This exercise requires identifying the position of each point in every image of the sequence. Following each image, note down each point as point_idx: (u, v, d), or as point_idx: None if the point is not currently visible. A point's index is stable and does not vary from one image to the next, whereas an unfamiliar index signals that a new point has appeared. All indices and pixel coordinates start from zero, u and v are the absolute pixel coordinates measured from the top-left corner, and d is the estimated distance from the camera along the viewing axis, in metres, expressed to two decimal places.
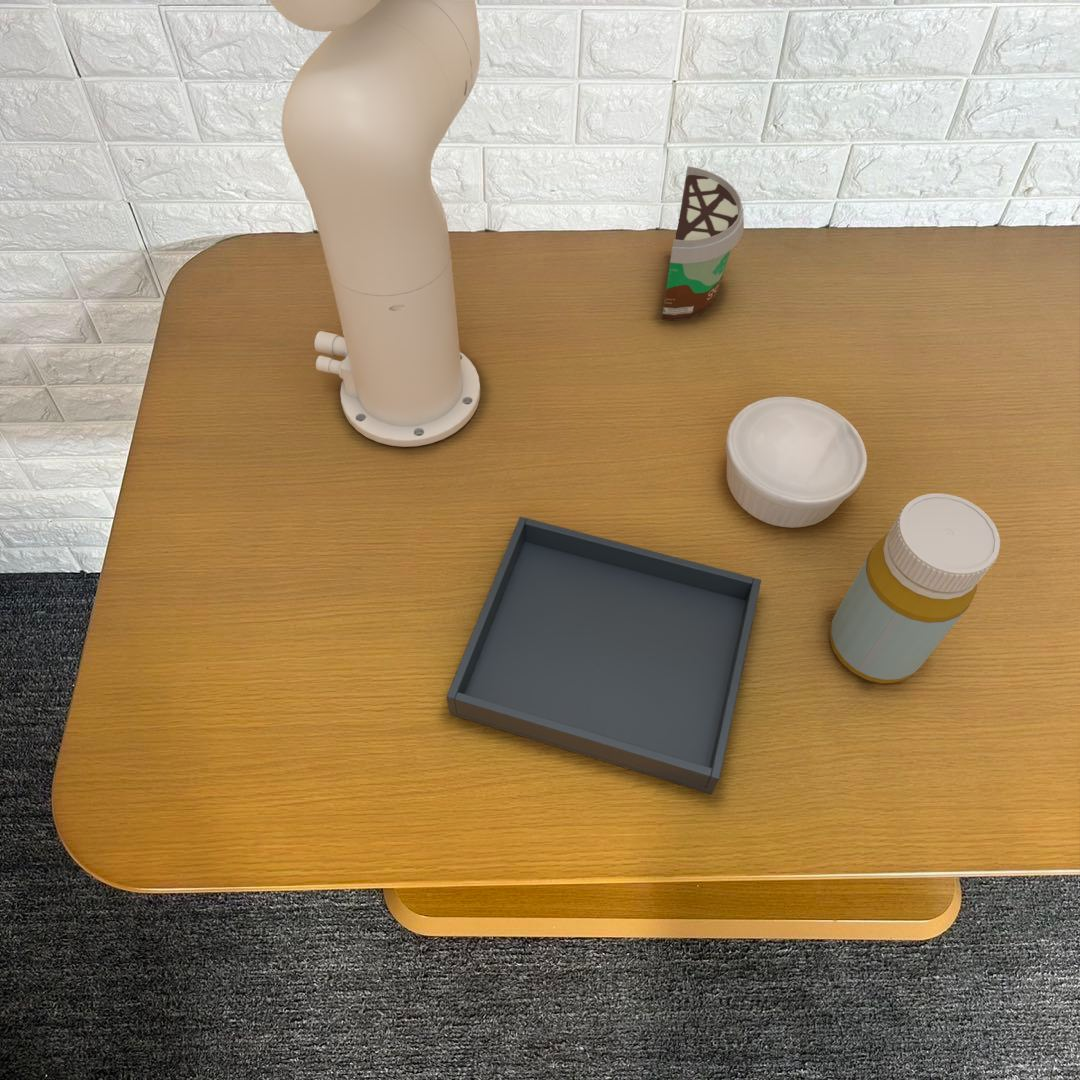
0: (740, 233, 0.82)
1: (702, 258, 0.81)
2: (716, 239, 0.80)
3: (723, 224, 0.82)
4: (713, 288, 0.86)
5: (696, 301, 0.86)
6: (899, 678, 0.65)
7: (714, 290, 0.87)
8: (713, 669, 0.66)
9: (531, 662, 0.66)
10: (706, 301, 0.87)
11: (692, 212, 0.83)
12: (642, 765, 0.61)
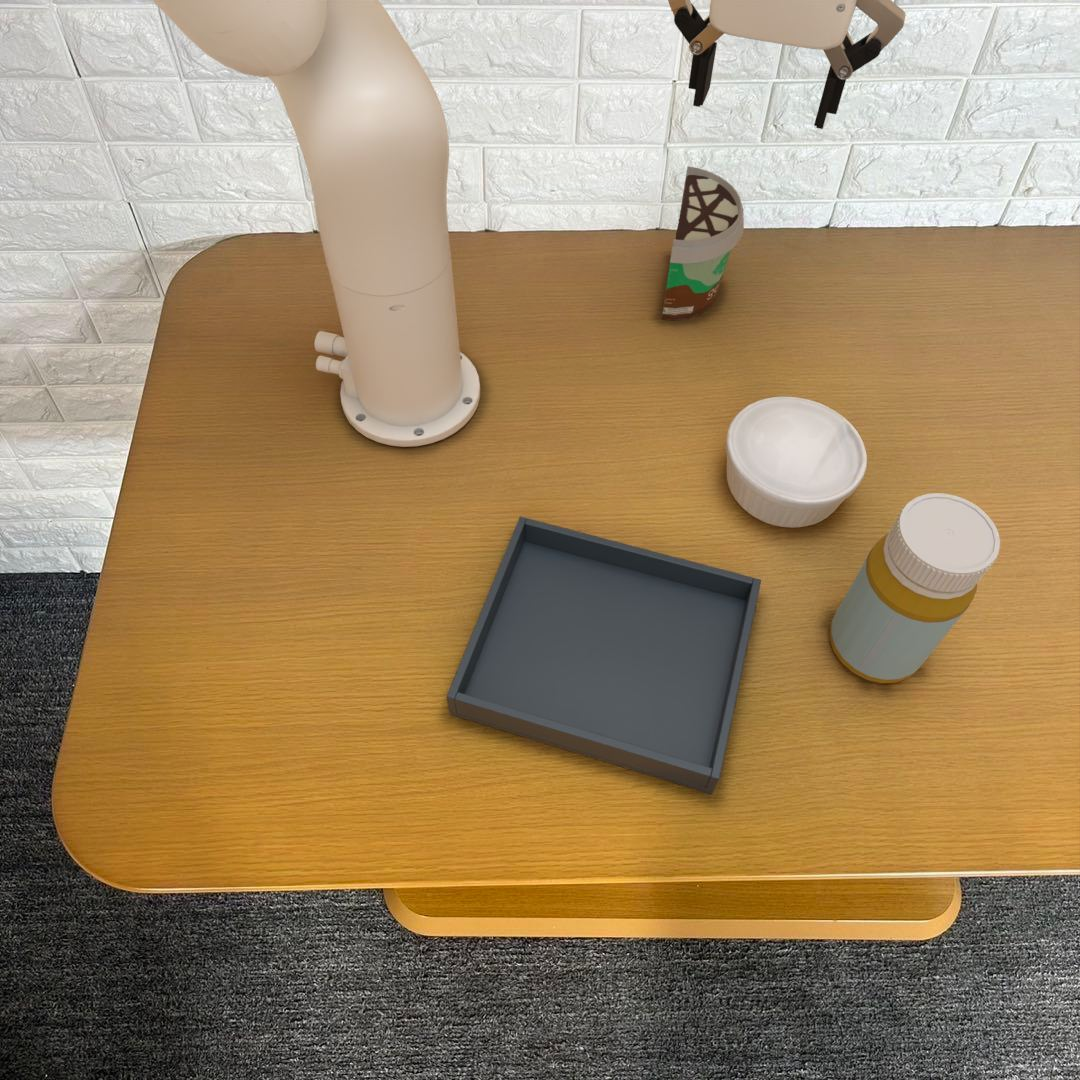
0: (740, 233, 0.82)
1: (702, 258, 0.81)
2: (716, 239, 0.80)
3: (723, 224, 0.82)
4: (713, 288, 0.86)
5: (696, 301, 0.86)
6: (899, 678, 0.65)
7: (714, 290, 0.87)
8: (713, 669, 0.66)
9: (531, 662, 0.66)
10: (706, 301, 0.87)
11: (692, 211, 0.83)
12: (642, 765, 0.61)
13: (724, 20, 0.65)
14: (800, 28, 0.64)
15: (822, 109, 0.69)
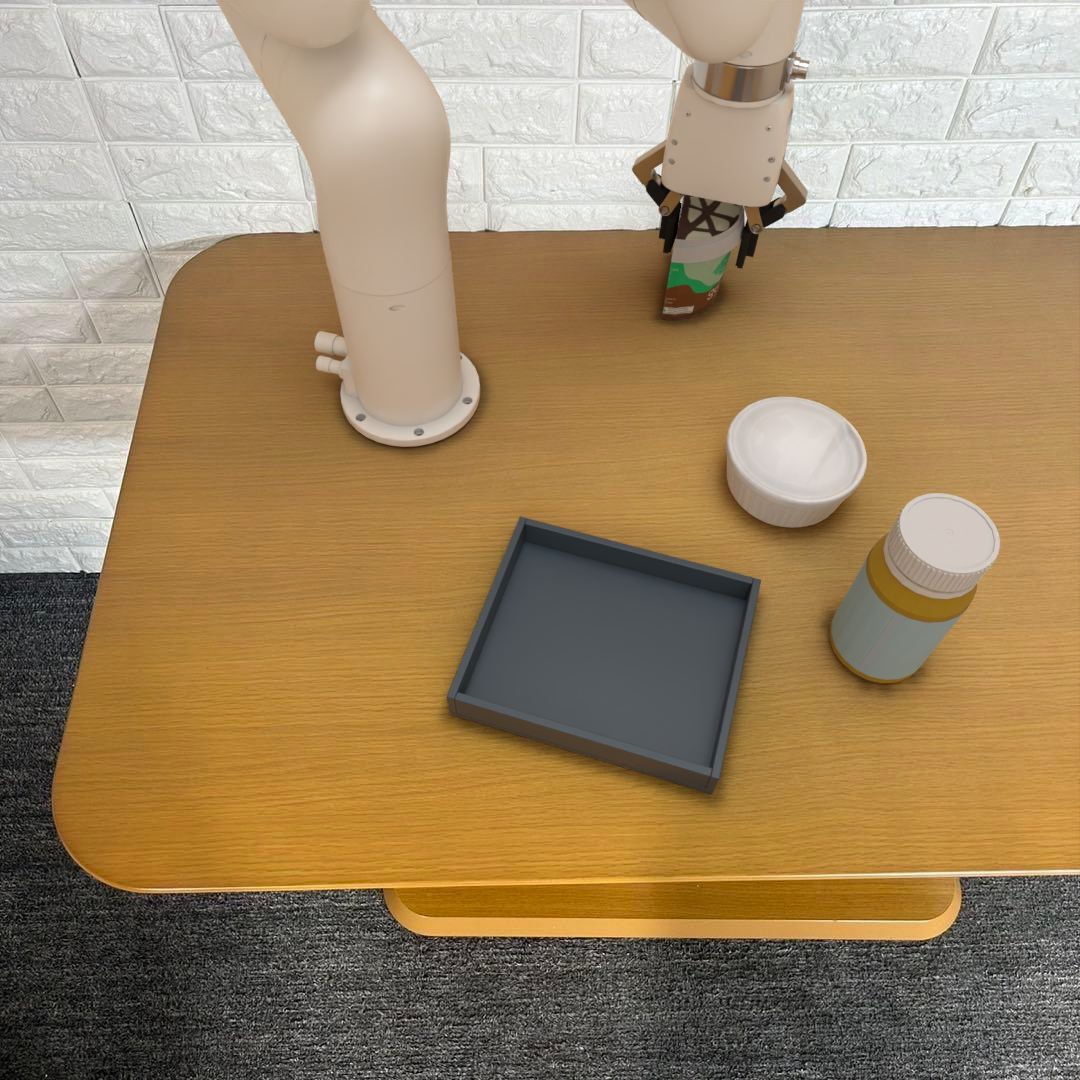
0: (741, 233, 0.82)
1: (703, 258, 0.81)
2: (717, 239, 0.80)
3: (724, 224, 0.82)
4: (713, 288, 0.86)
5: (696, 301, 0.86)
6: (899, 678, 0.65)
7: (714, 290, 0.87)
8: (713, 669, 0.66)
9: (531, 662, 0.66)
10: (706, 301, 0.87)
11: (693, 211, 0.83)
12: (642, 765, 0.61)
13: (673, 183, 0.79)
14: (735, 192, 0.78)
15: (741, 254, 0.84)
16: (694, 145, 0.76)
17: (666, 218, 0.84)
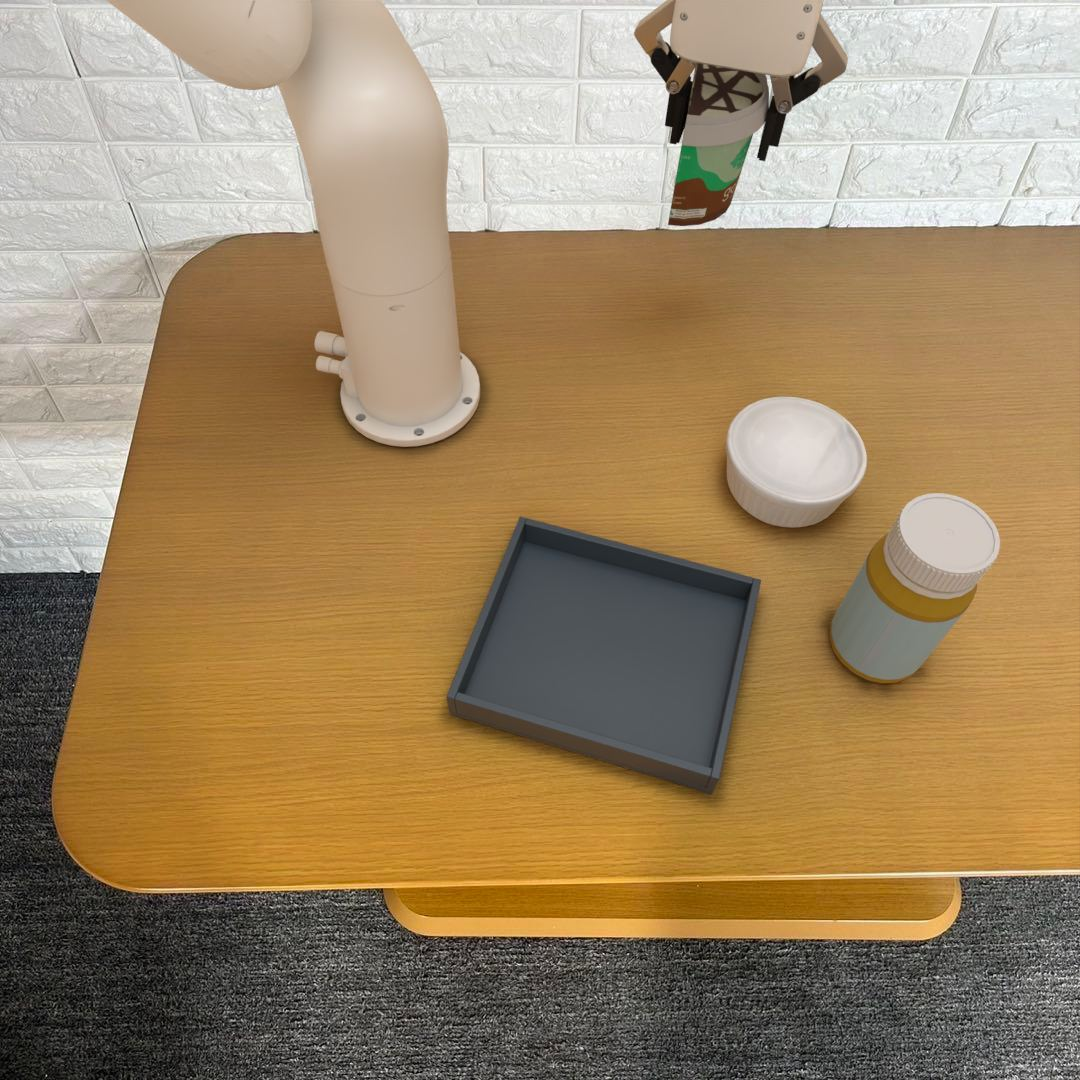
0: (765, 114, 0.68)
1: (721, 140, 0.66)
2: (738, 117, 0.66)
3: (745, 103, 0.68)
4: (730, 186, 0.72)
5: (710, 201, 0.72)
6: (899, 678, 0.65)
7: (731, 190, 0.73)
8: (713, 669, 0.66)
9: (531, 662, 0.66)
10: (721, 203, 0.73)
11: (707, 88, 0.68)
12: (642, 765, 0.61)
13: (685, 46, 0.65)
14: (761, 55, 0.64)
15: (764, 142, 0.69)
16: None
17: (674, 98, 0.70)
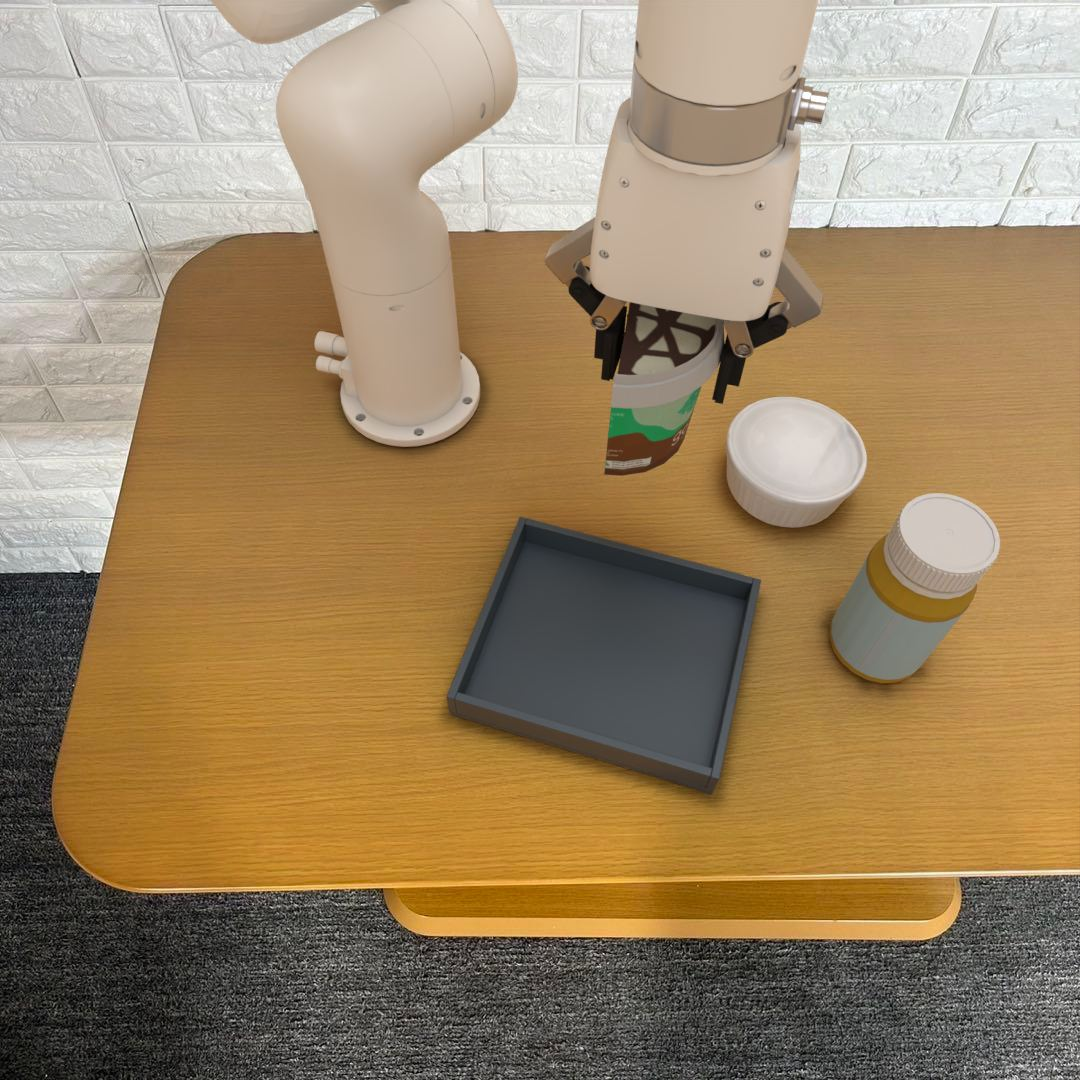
0: (720, 355, 0.53)
1: (661, 400, 0.51)
2: (682, 370, 0.51)
3: (692, 343, 0.52)
4: (680, 430, 0.57)
5: (655, 450, 0.57)
6: (899, 678, 0.65)
7: (682, 432, 0.58)
8: (713, 669, 0.66)
9: (531, 662, 0.66)
10: (670, 448, 0.58)
11: (644, 322, 0.53)
12: (642, 765, 0.61)
13: (609, 285, 0.50)
14: (707, 300, 0.48)
15: (720, 386, 0.54)
16: (638, 231, 0.46)
17: (603, 332, 0.54)
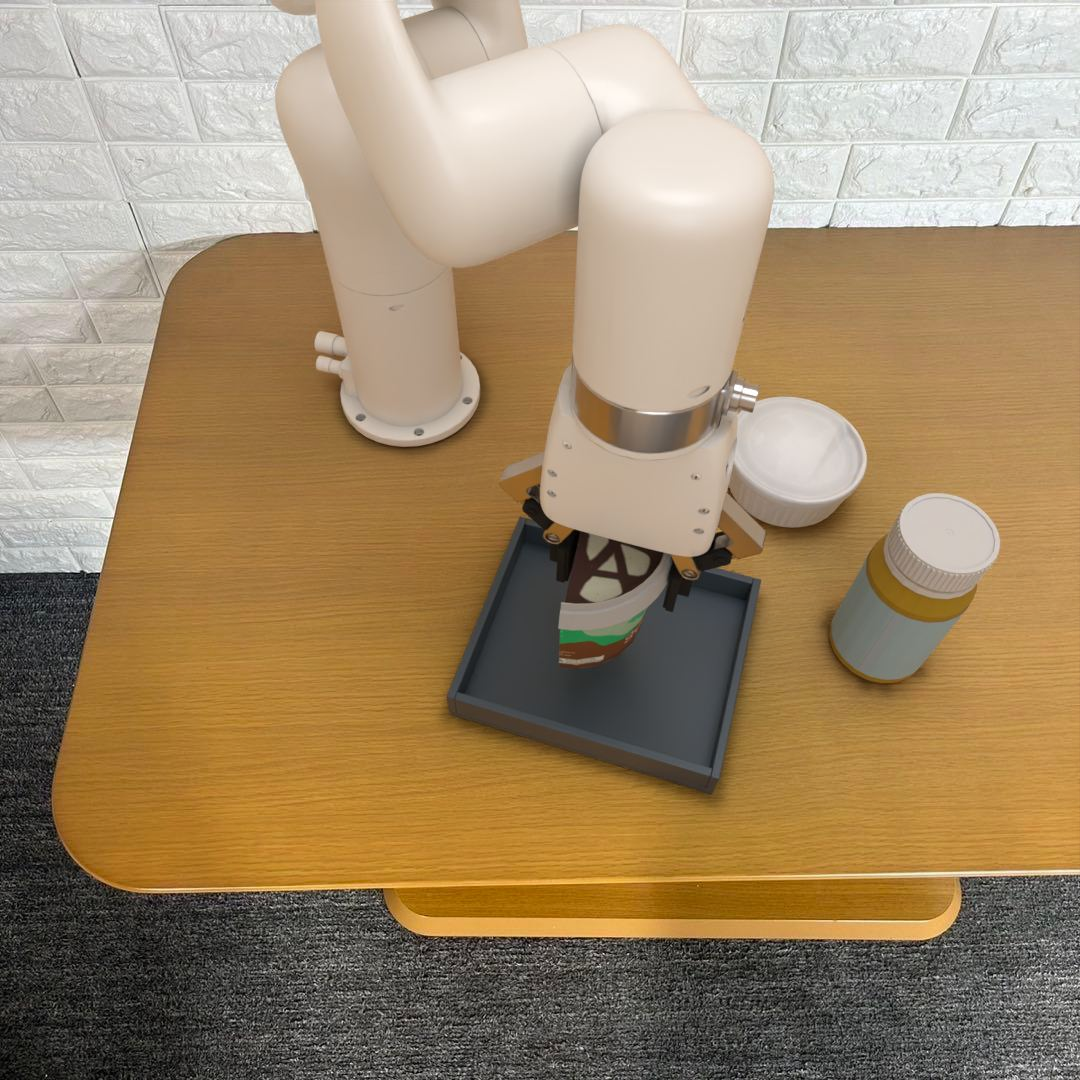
0: (668, 574, 0.54)
1: (607, 623, 0.53)
2: (628, 597, 0.52)
3: (641, 562, 0.54)
4: (632, 630, 0.58)
5: (607, 650, 0.58)
6: (899, 678, 0.65)
7: (635, 630, 0.59)
8: (713, 669, 0.66)
9: (531, 662, 0.66)
10: (623, 644, 0.59)
11: (595, 539, 0.55)
12: (642, 765, 0.61)
13: (558, 516, 0.51)
14: (652, 539, 0.50)
15: (669, 599, 0.56)
16: (582, 482, 0.48)
17: None
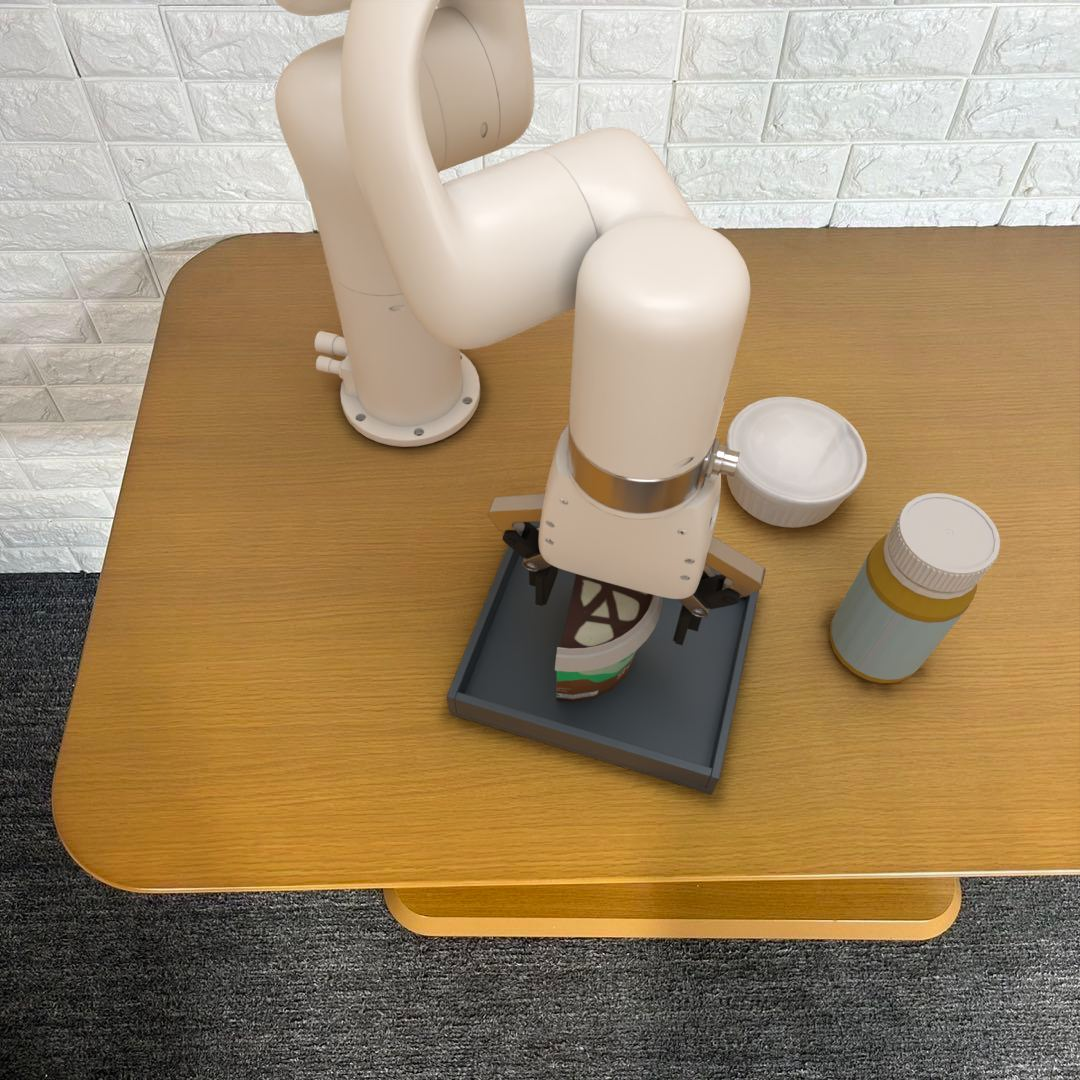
0: (656, 618, 0.59)
1: (600, 665, 0.57)
2: (619, 642, 0.57)
3: (631, 608, 0.59)
4: (624, 667, 0.63)
5: (601, 686, 0.63)
6: (899, 678, 0.65)
7: (626, 667, 0.64)
8: (713, 669, 0.66)
9: (531, 662, 0.66)
10: (616, 680, 0.64)
11: (589, 586, 0.59)
12: (642, 765, 0.61)
13: (555, 561, 0.55)
14: (642, 583, 0.54)
15: (679, 633, 0.59)
16: (578, 533, 0.52)
17: None
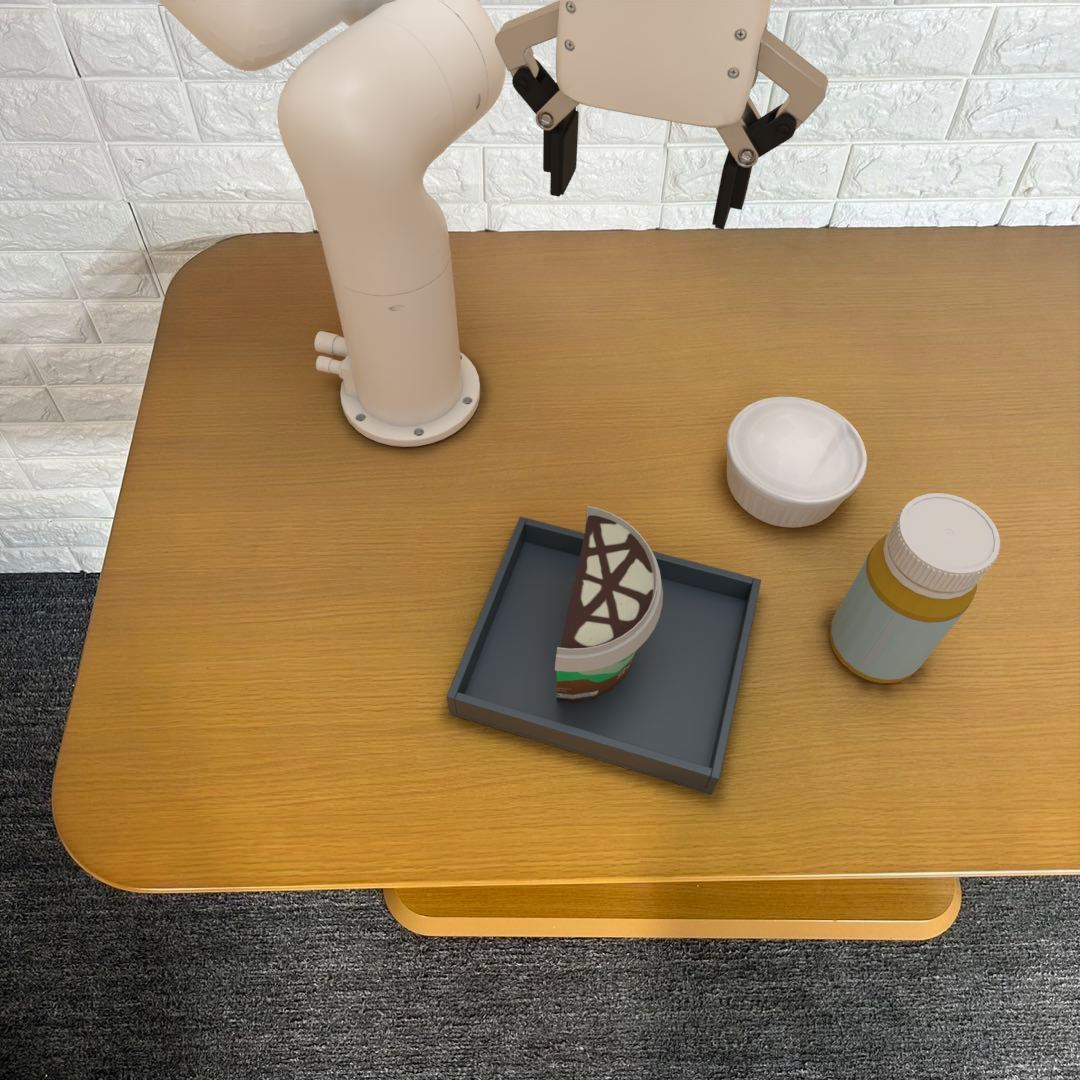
0: (656, 618, 0.59)
1: (600, 665, 0.57)
2: (619, 642, 0.57)
3: (631, 608, 0.59)
4: (624, 667, 0.63)
5: (601, 686, 0.63)
6: (899, 678, 0.65)
7: (626, 667, 0.64)
8: (713, 669, 0.66)
9: (531, 662, 0.66)
10: (616, 680, 0.64)
11: (589, 586, 0.59)
12: (642, 765, 0.61)
13: (576, 86, 0.46)
14: (680, 99, 0.45)
15: (721, 205, 0.50)
16: (604, 11, 0.43)
17: None
